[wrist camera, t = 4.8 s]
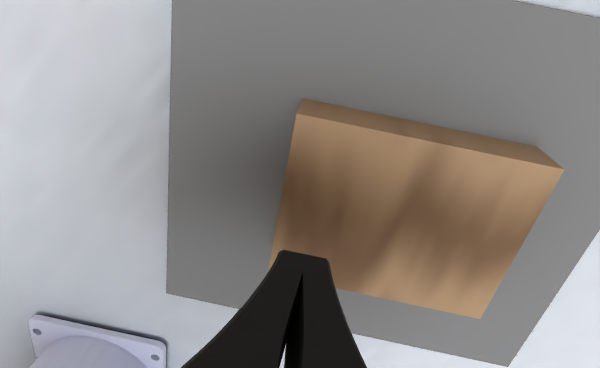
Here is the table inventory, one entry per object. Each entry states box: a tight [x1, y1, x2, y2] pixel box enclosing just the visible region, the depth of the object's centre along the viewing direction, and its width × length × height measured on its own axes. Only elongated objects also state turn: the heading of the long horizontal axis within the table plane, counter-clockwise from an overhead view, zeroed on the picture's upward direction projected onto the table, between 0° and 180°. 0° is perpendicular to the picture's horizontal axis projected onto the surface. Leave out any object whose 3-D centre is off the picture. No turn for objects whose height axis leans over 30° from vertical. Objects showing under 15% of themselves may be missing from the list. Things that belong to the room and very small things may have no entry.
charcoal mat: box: [166, 0, 600, 367], centre depth 16 cm, size 16×18×1 cm
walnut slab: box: [268, 98, 565, 319], centre depth 15 cm, size 7×2×9 cm
